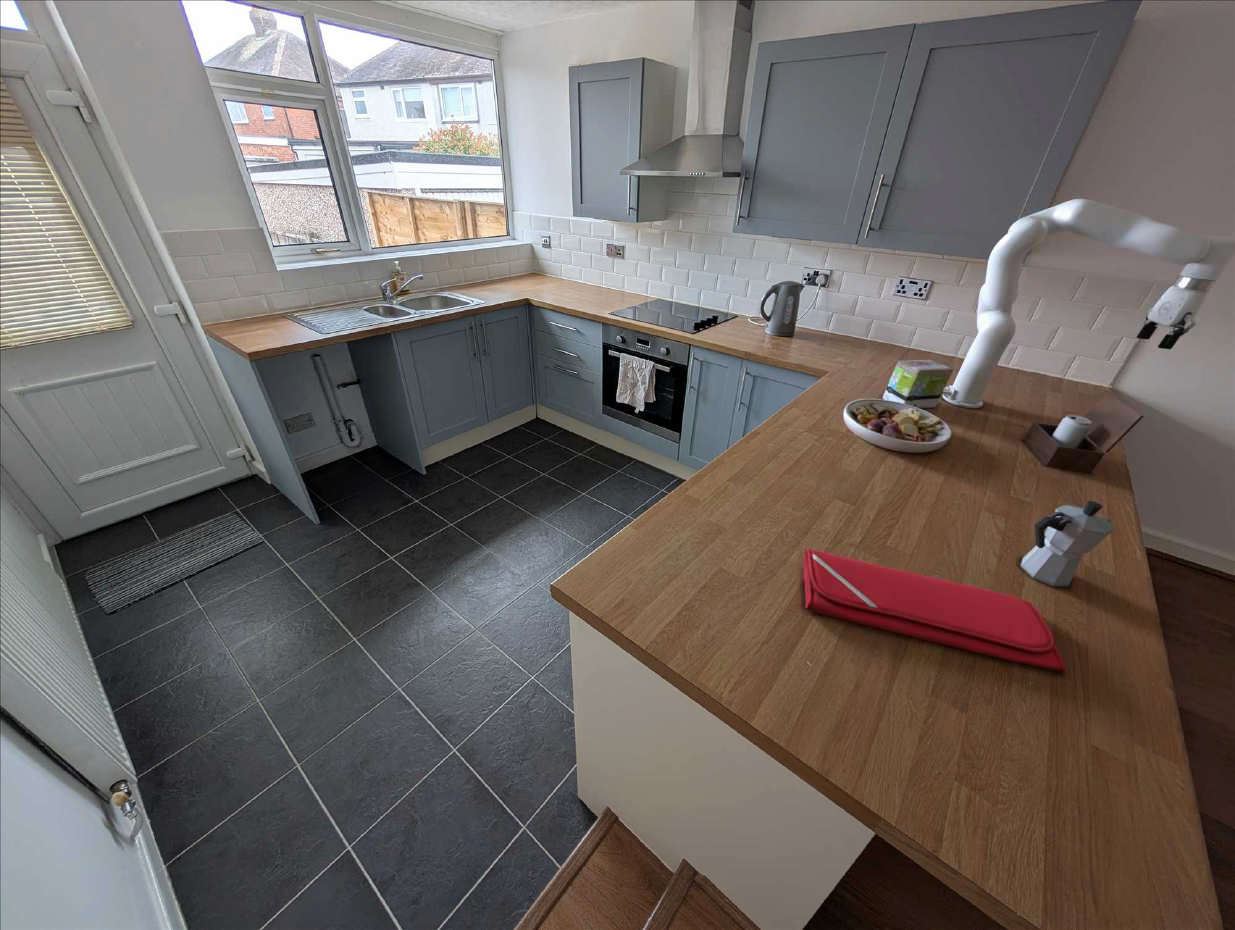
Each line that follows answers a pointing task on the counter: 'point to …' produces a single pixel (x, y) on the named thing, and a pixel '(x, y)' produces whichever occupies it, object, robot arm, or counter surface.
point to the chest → (1062, 450)
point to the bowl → (896, 425)
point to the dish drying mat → (929, 609)
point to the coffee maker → (1065, 542)
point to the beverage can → (1071, 431)
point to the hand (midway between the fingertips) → (1152, 343)
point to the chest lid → (1110, 421)
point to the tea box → (917, 383)
